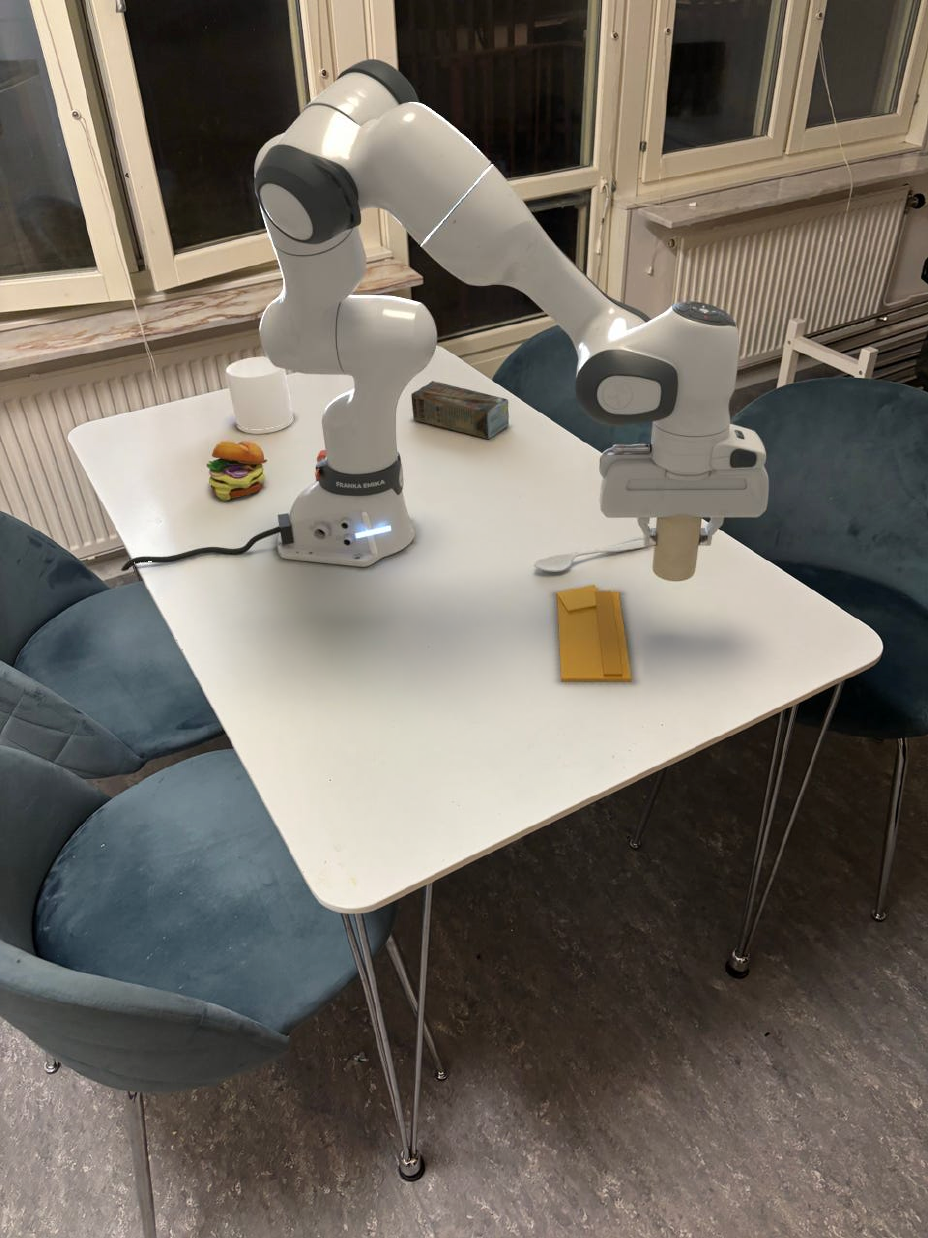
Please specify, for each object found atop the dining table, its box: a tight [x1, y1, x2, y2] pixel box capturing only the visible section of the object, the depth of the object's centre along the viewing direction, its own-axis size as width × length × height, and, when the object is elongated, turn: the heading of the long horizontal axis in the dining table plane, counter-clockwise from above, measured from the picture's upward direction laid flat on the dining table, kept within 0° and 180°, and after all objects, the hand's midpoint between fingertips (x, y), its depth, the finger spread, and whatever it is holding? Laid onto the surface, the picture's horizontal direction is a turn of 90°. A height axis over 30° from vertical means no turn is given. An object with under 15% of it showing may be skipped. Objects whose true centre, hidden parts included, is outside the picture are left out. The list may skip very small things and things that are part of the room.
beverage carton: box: [410, 380, 510, 440], centre depth 183 cm, size 8×19×7 cm, turn 55°
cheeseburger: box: [206, 440, 268, 502], centre depth 164 cm, size 10×11×10 cm
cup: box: [225, 356, 294, 435], centre depth 186 cm, size 12×12×12 cm
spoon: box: [533, 539, 648, 573], centre depth 141 cm, size 4×21×2 cm, turn 113°
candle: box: [652, 514, 703, 582], centre depth 116 cm, size 6×6×10 cm
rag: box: [556, 584, 632, 682], centre depth 126 cm, size 9×21×1 cm, turn 177°
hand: (677, 543), depth 116 cm, fingers closed on candle, 5 cm apart
